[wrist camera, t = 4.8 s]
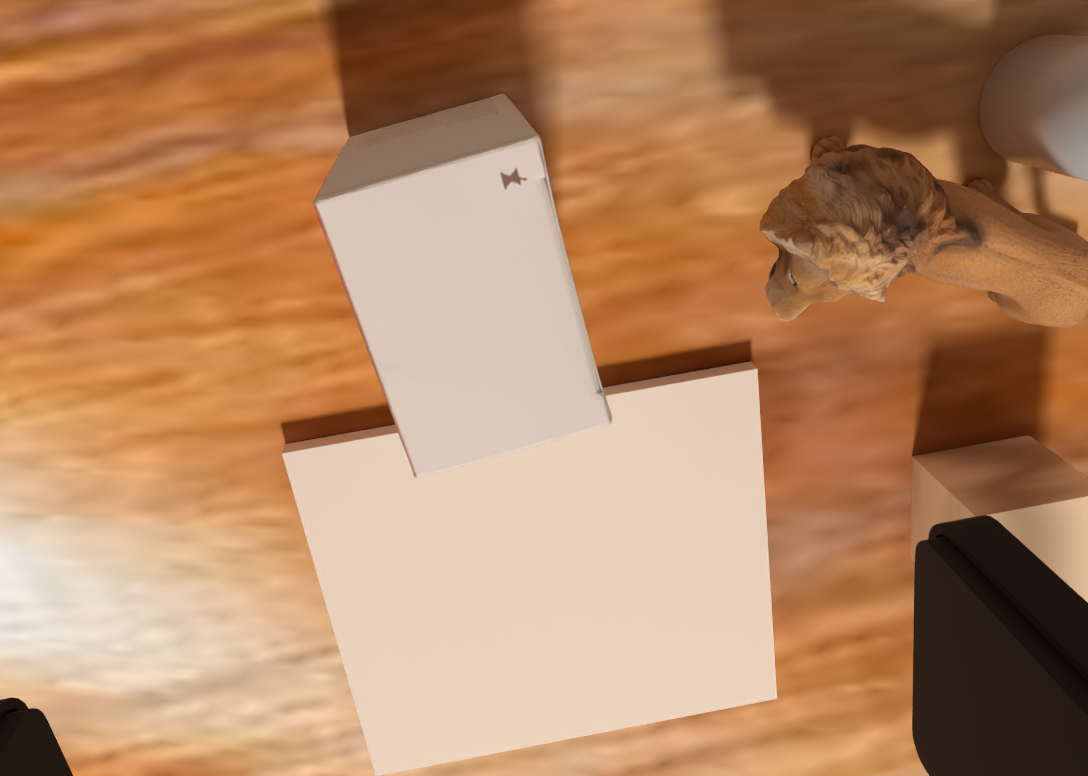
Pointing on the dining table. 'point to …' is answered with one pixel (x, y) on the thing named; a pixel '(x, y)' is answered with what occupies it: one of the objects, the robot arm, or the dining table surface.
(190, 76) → the dining table surface
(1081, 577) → the birch block
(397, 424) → the small box
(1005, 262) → the lion figurine
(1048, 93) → the light grey domed piece
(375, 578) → the mat
